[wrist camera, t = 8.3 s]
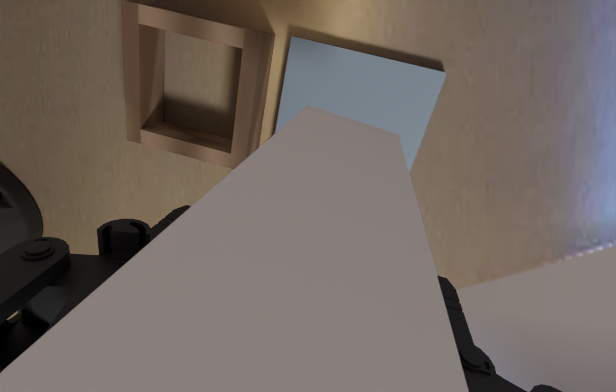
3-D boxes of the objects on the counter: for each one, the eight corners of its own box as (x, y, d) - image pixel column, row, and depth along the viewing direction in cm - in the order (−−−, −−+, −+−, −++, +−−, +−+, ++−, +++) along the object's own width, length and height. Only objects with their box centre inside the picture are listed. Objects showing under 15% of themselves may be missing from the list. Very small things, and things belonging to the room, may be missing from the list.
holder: (151, 130, 37) (127, 139, 33) (150, 5, 31) (121, -1, 28) (256, 159, 36) (243, 171, 32) (275, 34, 30) (262, 33, 27)
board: (271, 165, 36) (269, 168, 35) (293, 36, 30) (291, 35, 29) (397, 199, 35) (397, 203, 34) (444, 72, 29) (447, 72, 28)
